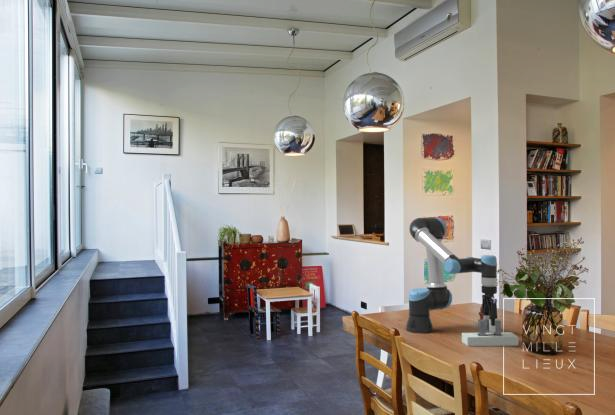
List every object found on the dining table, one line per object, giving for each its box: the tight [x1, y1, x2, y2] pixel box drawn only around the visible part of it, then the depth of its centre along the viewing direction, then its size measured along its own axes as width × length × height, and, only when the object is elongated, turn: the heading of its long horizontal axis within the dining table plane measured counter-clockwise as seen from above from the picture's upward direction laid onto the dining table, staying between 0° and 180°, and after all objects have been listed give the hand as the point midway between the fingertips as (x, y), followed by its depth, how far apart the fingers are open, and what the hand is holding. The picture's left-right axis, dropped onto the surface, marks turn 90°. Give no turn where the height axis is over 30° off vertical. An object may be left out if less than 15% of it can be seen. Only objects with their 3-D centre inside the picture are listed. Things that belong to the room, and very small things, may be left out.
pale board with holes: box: [461, 331, 519, 347], centre depth 257 cm, size 26×9×4 cm, turn 91°
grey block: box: [477, 318, 502, 336], centre depth 257 cm, size 11×3×12 cm, turn 91°
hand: (489, 329), depth 257 cm, fingers open, 7 cm apart
